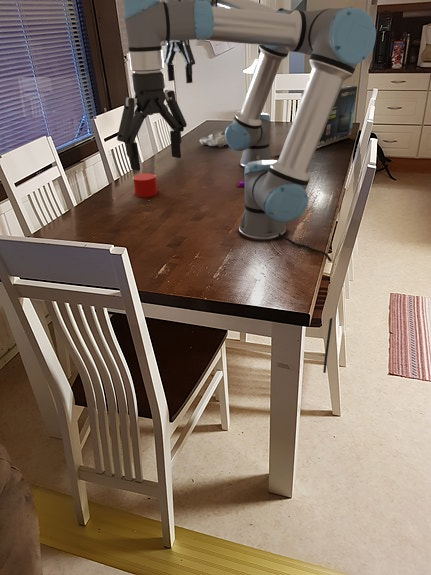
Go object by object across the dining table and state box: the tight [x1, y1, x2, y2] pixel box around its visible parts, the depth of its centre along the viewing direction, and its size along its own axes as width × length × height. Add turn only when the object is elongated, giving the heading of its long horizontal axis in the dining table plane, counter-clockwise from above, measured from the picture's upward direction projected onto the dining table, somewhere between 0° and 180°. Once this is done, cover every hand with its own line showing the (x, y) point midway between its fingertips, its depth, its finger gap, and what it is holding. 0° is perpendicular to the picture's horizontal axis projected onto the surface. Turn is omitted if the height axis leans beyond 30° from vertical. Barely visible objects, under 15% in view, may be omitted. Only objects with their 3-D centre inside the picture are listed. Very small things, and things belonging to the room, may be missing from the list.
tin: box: [132, 172, 158, 198], centre depth 184 cm, size 9×9×7 cm
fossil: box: [199, 129, 228, 148], centre depth 250 cm, size 18×11×15 cm
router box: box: [300, 84, 358, 146], centre depth 238 cm, size 36×11×27 cm, turn 134°
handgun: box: [237, 180, 245, 187], centre depth 182 cm, size 21×8×2 cm, turn 11°
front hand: (156, 163), depth 117 cm, fingers open, 13 cm apart
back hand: (180, 81), depth 201 cm, fingers open, 13 cm apart
